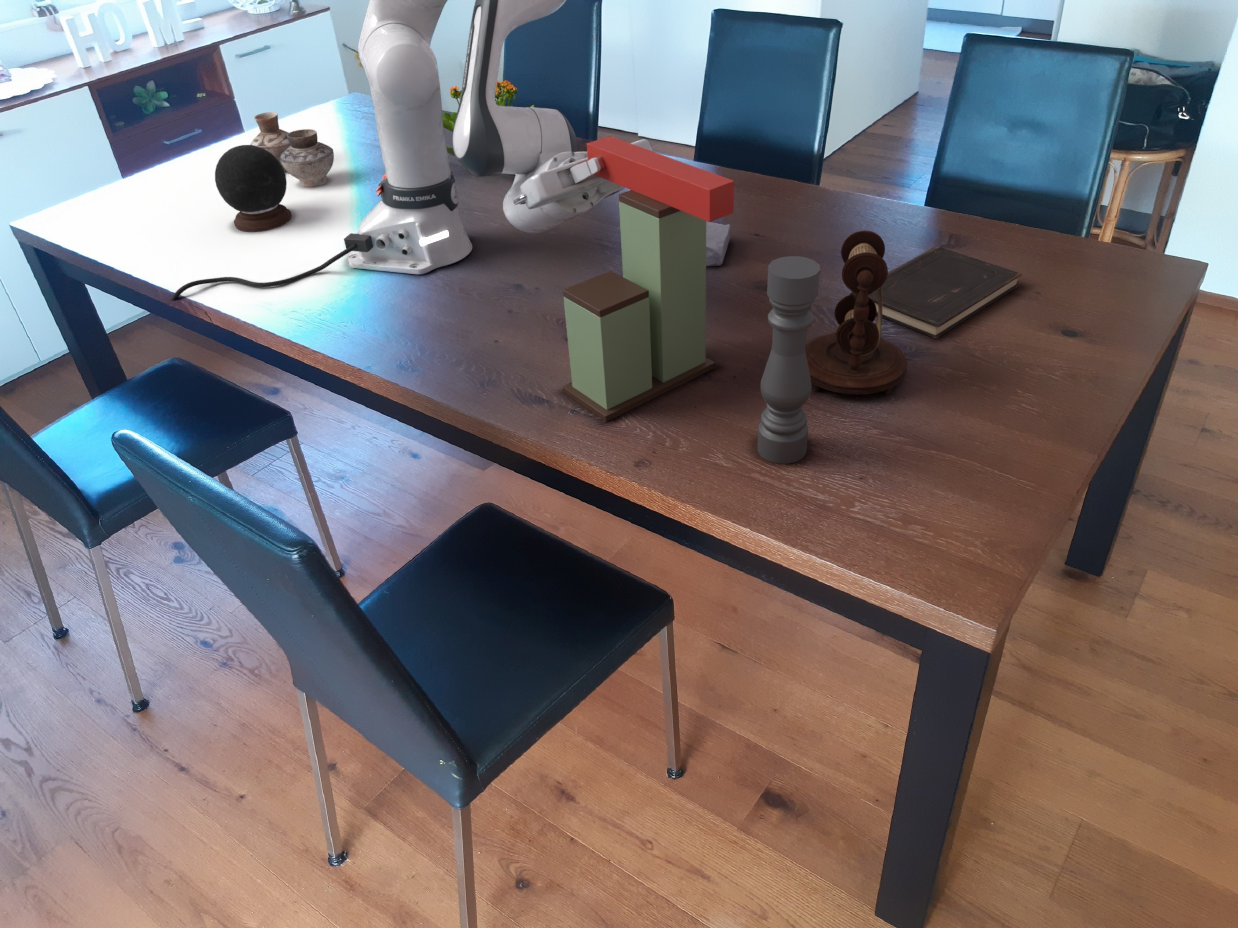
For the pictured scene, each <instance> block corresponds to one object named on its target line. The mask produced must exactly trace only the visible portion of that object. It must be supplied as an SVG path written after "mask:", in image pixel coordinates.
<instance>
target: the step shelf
mask: <svg viewBox="0 0 1238 928" xmlns="http://www.w3.org/2000/svg"><path fill="white" fill-rule="evenodd" d="M618 207H619V209H618V210H619V225H620V226H619V228H620V245H621V263H622V276H621V275H620V274H618V273H616V272H614V271H612V270H608V271H606V272H604V273H601V274H599V275H596V276H594V277H592V278H588V279H586V280H584V281H582V282H581V281H580V282H579V283H577V284H573V285H571V286H568V287H566V288H564V289H562V296H563V297H562V298H563V306H564V317H565V326H566V336H567V349H568V357H569V368H570V376H571V378H570V379H571V382H569V383H567V384H565V385H562V393H563V394H565V395H566V396H567V397H570V398H571V399H572V400H573V401H575V402H577V403H578V404H579V405H580V406H582V407H583V408H585V409H586V410H587V411H590V413H592V414H594V415H595V416H596V417H598V418H599V419H601V420H603V421H604V422H605V423H607V422H609V421H611V420H614V419H615V418H618V417H620V416H621V415H623V414H625V413H627V412H629V411H632V410H634V409H636V408H638V407H639V406H641V405H643V404H646V403H648V402H651V401H652V400H653V399H656V398H658V397H660V396H662V395H664V394H666V393H668V392H670V391H672V390H674V389H676V388H678V387H680V386H682V385H684V384H686V383H688V382H691V381H693V380H694V379H696V378H698V377H700V376H702V375H704V374H707V373H709V372H710V371H713V370H714V369H716V362H715V361H714V360H712V359H710V358H708V357H707V356H706V352H707V351H706V350H707V349H706V348H707V347H706V346H707V345H706V344H707V341H706V340H707V339H706V338H707V337H706V335H707V334H706V333H707V330H706V329H707V328H706V327H707V325H706V324H707V310H706V309H707V266H706V222H707V221H705V220H703V219H700V218H698V217H695V216H693V215H691V214H688V213H686V212H683V211H681V210H678V209H676V208H674V207H671V206H669V205H666V204H664V203H661V202H659V201H657V200H654V199H652V198H649V197H647V196H644V195H642V194H639V193H637V192H635V191H632V190H630V189H629V190H627V191H624V192H621V193H619V194H618Z"/></svg>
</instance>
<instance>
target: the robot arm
mask: <svg viewBox="0 0 1238 928" xmlns="http://www.w3.org/2000/svg"><path fill="white" fill-rule="evenodd" d="M448 1H449V0H369V2H368V6H367V9H366V13H365V17H364V20H363V25H362V28H361V32H360V36H359V40H358V46H357V47H358V49H357V50H358V57H359V60H360V63H361V65H362V68H363V70H364V72H365V75H366V78H367V80H368V84H369V89H370V93H371V99H372V104H373V110H374V117H375V123H376V129H377V138H378V141H379V146H380V151H381V156H382V161H383V164H384V165H383V166H384V170H385V173H384V175H383V176H382V180H381V181H380V182H379V183H378V187H377V188H376V190H375V191H376V197H381V200H380V201H379V202H378V203H377V204H376V205H375V206H374V207H373V208H372V209H371V210H370V211H369V212H368V213H367V214H366V215H365V216H364V217H363V218H362V220H361V222H360V223H359V226H358V229H357V233H352V232H351V233H349V234H348V235H346V237H344V238H343V242H344V245H345V249H344V250H342V251H340V252H339V253H338V254H335V255H334V256H332V257H331V258H329V259H328V260H327V261H325V262H323V263H322V264H320V265H319V266H317V267H314V268H312V269H309V270H308V271H305V272H302V273H300V274H298V275H294V276H291V277H288V278H285V279H280V280H275V281H274V280H273V281H267V282H266V281H265V282H258V281H257V282H256V281H251V280H248V279H245V278H240V277H237V276H236V277H235V276H221V277H213V278H203V279H197V280H193V281H189V282H187V283H186V284H183V285H182V286H181V287H179V288H178V289H177V290H175V292H174V293H173V295H172V296H171V298H170V302H173V301H176V300H177V299H178V298H179V297H180V296H181V294H183V293H184V292H185V291H187V290H189V289H191V288H193V287H196V286H200V285H207V284H214V283H215V284H217V283H224V282H225V283H226V282H232V283H233V282H234V283H238V284H242V285H246V286H249V287H254V288H269V287H271V288H272V287H276V286H282V285H286V284H291V283H294V282H297V281H299V280H301V279H304V278H307V277H309V276H312V275H314V274H317V273H319V272H321V271H323V270H324V269H326V268H328V267H329V266H331V265H332V264H333V263H336V261H338V260H340V259H341V258H343V257H345V256H346V255H348V257H347V260H348V265H349V267H350V268H351V269H360V270H370V271H380V272H391V273H401V274H409V275H410V274H411V275H425V274H427V273H430V272H431V271H433V270H435V269H438V268H442V267H447V266H448V265H452V264H454V263H458V262H459V261H461V260H463V259H465V258H466V257H467V256H468V255H470V253H471V252H472V250H473V244H472V242H471V240H470V238H469V236H468V233H467V231H466V227H465V225H464V223H463V220H462V217H461V213H460V210H459V206H458V205H459V195H458V193H459V192H458V187H457V183H456V179H455V176H454V175H455V174H454V172H453V171H452V170H451V166H450V165H451V164H450V161H449V153H447V147H448V146H447V141H446V136H445V128H443V115H442V114H443V103H442V93H441V92H442V91H441V81H440V74H439V67H438V61H437V58H436V55H435V53H434V51H433V49H432V48H431V42H432V40H433V36H434V33H435V31H436V28H437V25H438V22H439V20H440V17H441V14H442V12H443V10H444V8H445V5H446V4H447V2H448ZM566 1H567V0H474V6H473V9H472V14H471V21H470V27H469V32H468V33H469V34H468V41H467V46H466V47H467V48H466V54H465V62H464V70H463V77H462V86H461V90H462V92H461V98H460V99H459V105H458V108H457V112H456V113H457V115H456V119H455V124H454V129H453V132H452V141H451V143H452V148H453V151H454V154H455V156H454V157H455V158H456V159H457V161H458V162H459V163H460V164H461V166H462V167H463V168H464V169H466V170H467V172H469V173H470V174H472V175H473V176H475V177H477V178H478V177H490V176H500V175H515V176H514V179H513V183H512V184H511V186H510V188H509V190H508V191H506V194H505V196H504V198H503V202H502V211H503V214H504V217H505V218H506V220H507V221H508V222H509V223H510V225H512V227H514V228H515V229H517V230H519V231H520V232H523V233H528V234H539V233H542V232H546V231H548V230H551V229H553V228H556V227H558V226H560V225H561V224H563V223H564V222H565V221H569V220H572V219H574V218H576V217H577V216H579V215H582V214H583V213H585V212H588V211H590V210H591V209H592V208H594V207H595V206H596V205H597V204H599V203H600V202H601V201H603V200H605V199H606V198H608V197H610V196H612V195H614V194H617V193H619V192H620V191H623V190H625V189H626V188H625V187H622V186H620V185H618V184H615V183H613V182H610V181H608V180H605V179H603V178H601V177H598V176H596V175H594V174H596V173H598V172H601V171H602V170H604V169H605V168H606V165H605V162H604V159H603V157H602V156H598V157H595V158H592V159H590V160H589V161H588V155H587V151H579V146H578V140H577V136H576V133H575V131H574V129H573V126H572V125H571V123H570V121H569V120H568V119H567V117H566V116H565V115H564V114H563V113H562V112H561V111H560V110H558V109H556V108H547V107H535V108H533V107H531V106H526V107H522V106H521V107H520V106H519V107H518V106H512V107H511V106H510V107H508V105H507V106H506V105H505V106H498V105H497V104H496V101H495V93H496V85H497V81H498V78H499V70H500V63H501V57H502V49H503V46H504V43H505V41H506V39H507V37H508V35H509V34H511V33H512V32H513V31H514V30H516V29H518V28H519V27H521V26H523V25H527V24H529V23H532V22H535V21H537V20H540V19H543V18H546V17H548V16H550V15H552V14H553V13H555V12H556V11H558V10H559V9H560V8H561V7H562V6H563V5H564V4H565V3H566ZM629 143H630V144H633V145H636V146H639V147H641V148H644V149H647V150H650V151H653V149H652V146H651V144H650V142H649V141H648V140H647V139H646V138H642V139H639V140H636V141H632V142H629ZM446 146H447V147H446Z"/></svg>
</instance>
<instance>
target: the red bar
mask: <svg viewBox="0 0 1238 928" xmlns="http://www.w3.org/2000/svg"><path fill="white" fill-rule="evenodd" d="M630 143H631V142H627V141H625V140H622V139H618V138H616V137H614V136H611V135H610V136H606V137H603V138H600V139H596V140H593V141H589V142H587V143H586V152H587V155H588V161H589V160H590V159H592V158H595V157H598V156H602V157H603V159H604V162H605V165H606V168H605V169H604V170H602V171H601V172H598V173H596V174H594V175H596V176H598V177H601V178H603V179H605V180H608V181H610V182H613V183H615V184H618V185H620V186H622V187H625V188H624V189H627V190H629V191H630V190H632V191H635V192H637V193H639V194H642V195H644V196H647V197H649V198H652V199H654V200H657V201H659V202H661V203H664V204H666V205H669V206H671V207H674V208H676V209H678V210H681V211H683V212H686V213H688V214H691V215H693V216H695V217H698V218H700V219H703V220H705V221H706V222H712V223H713V222H714V221H716V220H719V219H722V218H724V217H727V216H729V215H732V214H735V213H734V209H735V180H733V179H730V178H727V177H724V176H723V175H719V174H716V173H714V172H711V171H708V170H705V169H704V168H703V169H702V168H701V167H700V168H699V167H697V166H694V165H691V164H689V163H685V162H683V161H681V160H677V159H674V158H672V157H669V156H666V155H663V154H661V153H658V152H655V151H653V150H652V151H650V150H647V149H644V148H641V147H639V146H636V145H633V144H630Z"/></svg>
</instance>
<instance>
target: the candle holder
mask: <svg viewBox="0 0 1238 928" xmlns="http://www.w3.org/2000/svg"><path fill="white" fill-rule="evenodd" d="M820 276H821V265H820V264H819V263H818V262H817V261H816V260H815V259H811V258H809V257H805V256H800V255H792V256H791V255H789V256H782V257H777V258H775V259H773V260H771V262H770V263H769V264H768V265H767V284H766V286H767V288H766V293H767V294H766V295H767V297H768V299H769V303H770V304H771V306H772V309H771V310H770V311H769V312H768V314H767V323H768V324H769V325H770V326H771V328H772V341H771V342H772V344H771V349H770V353H769V356H768V359H767V362H766V364H765V368H764V371H763V374H762V377H761V379H760V393H761V397H762V398H763V400H764V401H765V403H766V408H765V409H763V411H762V412H761V414H760V422H759V423H758V425H757V427H758V428H757V445H756V446H757V453H758V454H759V456H760V457H761V458H763V459H764V460H766V461H767V462H770V463H774V464H780V465H782V464H783V465H784V464H785V465H788V464H793V463H797V462H799V461H801V460H802V459H804V457H805V455H806V454H807V450H808V439H809V437H808V436H809V426H808V424H807V423H808V416H807V414H806V413H805V411H804V410H803V408H804V405H805V404H806V402H807V401H808V399H809V398H810V397H811V394H812V389H813V384H812V383H811V378H810V373H809V368H808V362H807V357H806V351H805V346H806V343H807V335H808V334H807V331H808V329H809V328H811V326H812V325H813V324H814V322H815V321H814V320H815V317H814V313H813V312H812V311H810V310H811V308H812V306H813V305H814V304H815V302H816V299H817V298H818V296H819V290H820V289H819V288H820Z"/></svg>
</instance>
